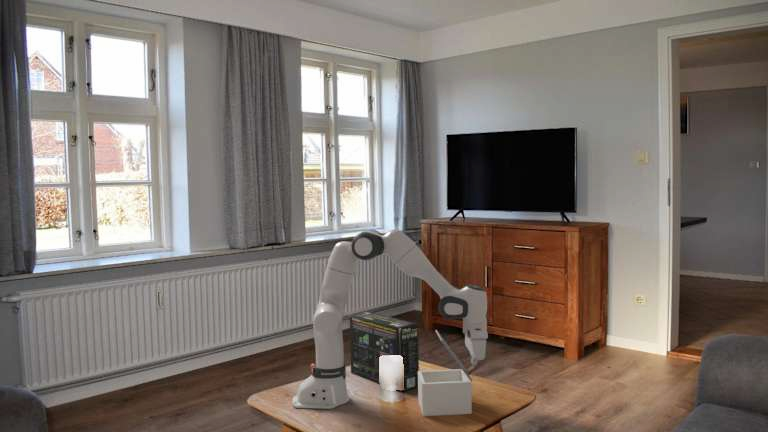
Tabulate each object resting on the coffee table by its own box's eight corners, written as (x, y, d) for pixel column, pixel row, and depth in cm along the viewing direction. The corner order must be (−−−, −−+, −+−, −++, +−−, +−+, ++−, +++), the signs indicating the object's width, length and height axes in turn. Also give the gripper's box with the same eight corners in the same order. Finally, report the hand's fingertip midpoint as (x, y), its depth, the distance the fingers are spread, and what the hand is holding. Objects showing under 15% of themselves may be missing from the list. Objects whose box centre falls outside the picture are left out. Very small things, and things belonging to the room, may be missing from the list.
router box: (421, 386, 259) (419, 323, 257) (401, 393, 252) (399, 328, 250) (368, 367, 286) (366, 310, 285) (349, 372, 279) (347, 314, 278)
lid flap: (441, 341, 225) (460, 327, 226) (435, 330, 241) (452, 317, 241) (471, 382, 227) (490, 367, 227) (463, 368, 243) (481, 355, 243)
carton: (423, 416, 227) (422, 384, 226) (418, 401, 242) (417, 371, 241) (471, 413, 228) (471, 381, 227) (464, 398, 243) (463, 368, 242)
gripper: (461, 321, 244) (460, 356, 245) (471, 335, 223) (470, 373, 225) (477, 321, 244) (476, 356, 245) (489, 335, 224) (488, 373, 225)
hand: (473, 364), depth 235 cm, fingers closed, pressing on lid flap
